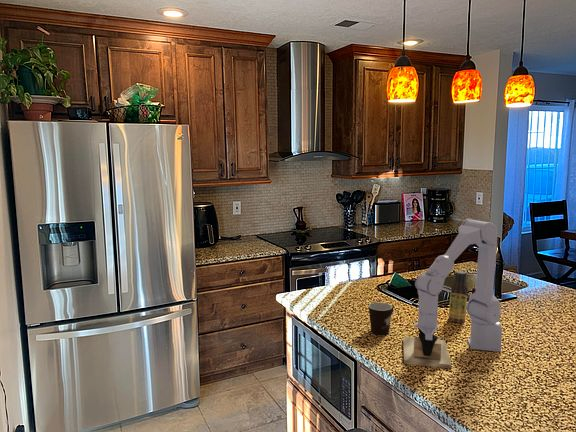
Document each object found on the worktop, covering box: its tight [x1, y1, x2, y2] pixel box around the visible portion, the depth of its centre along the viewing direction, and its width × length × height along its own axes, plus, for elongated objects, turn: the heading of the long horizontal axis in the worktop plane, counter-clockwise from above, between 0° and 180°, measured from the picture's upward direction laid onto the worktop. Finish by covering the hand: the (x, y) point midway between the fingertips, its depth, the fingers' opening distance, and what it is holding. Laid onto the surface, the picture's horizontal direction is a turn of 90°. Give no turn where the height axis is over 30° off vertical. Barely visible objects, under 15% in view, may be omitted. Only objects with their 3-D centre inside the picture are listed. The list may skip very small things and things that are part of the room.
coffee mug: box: [368, 301, 394, 337], centre depth 159 cm, size 12×9×10 cm
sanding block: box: [413, 336, 442, 361], centre depth 137 cm, size 8×4×6 cm, turn 76°
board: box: [402, 336, 452, 369], centre depth 142 cm, size 14×18×1 cm
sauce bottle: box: [448, 270, 468, 324], centre depth 168 cm, size 6×6×20 cm
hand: (426, 352), depth 137 cm, fingers closed on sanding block, 4 cm apart
